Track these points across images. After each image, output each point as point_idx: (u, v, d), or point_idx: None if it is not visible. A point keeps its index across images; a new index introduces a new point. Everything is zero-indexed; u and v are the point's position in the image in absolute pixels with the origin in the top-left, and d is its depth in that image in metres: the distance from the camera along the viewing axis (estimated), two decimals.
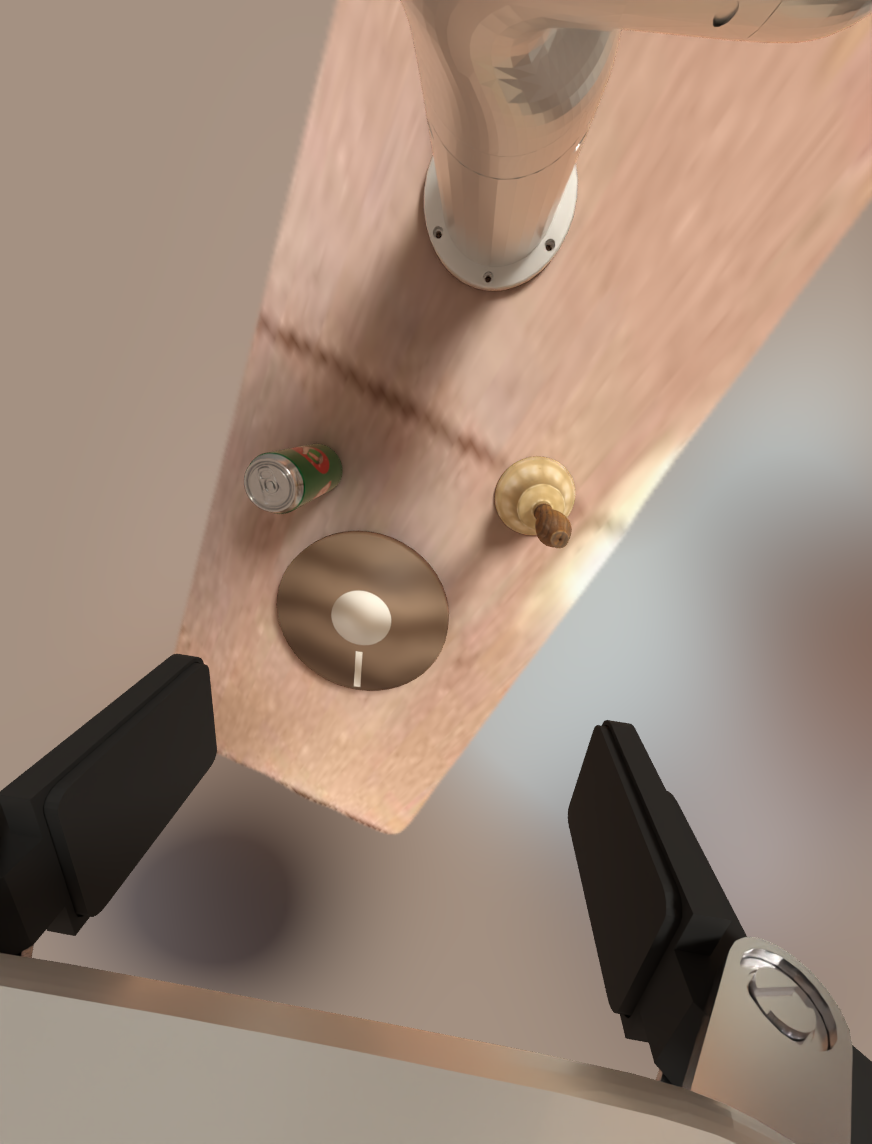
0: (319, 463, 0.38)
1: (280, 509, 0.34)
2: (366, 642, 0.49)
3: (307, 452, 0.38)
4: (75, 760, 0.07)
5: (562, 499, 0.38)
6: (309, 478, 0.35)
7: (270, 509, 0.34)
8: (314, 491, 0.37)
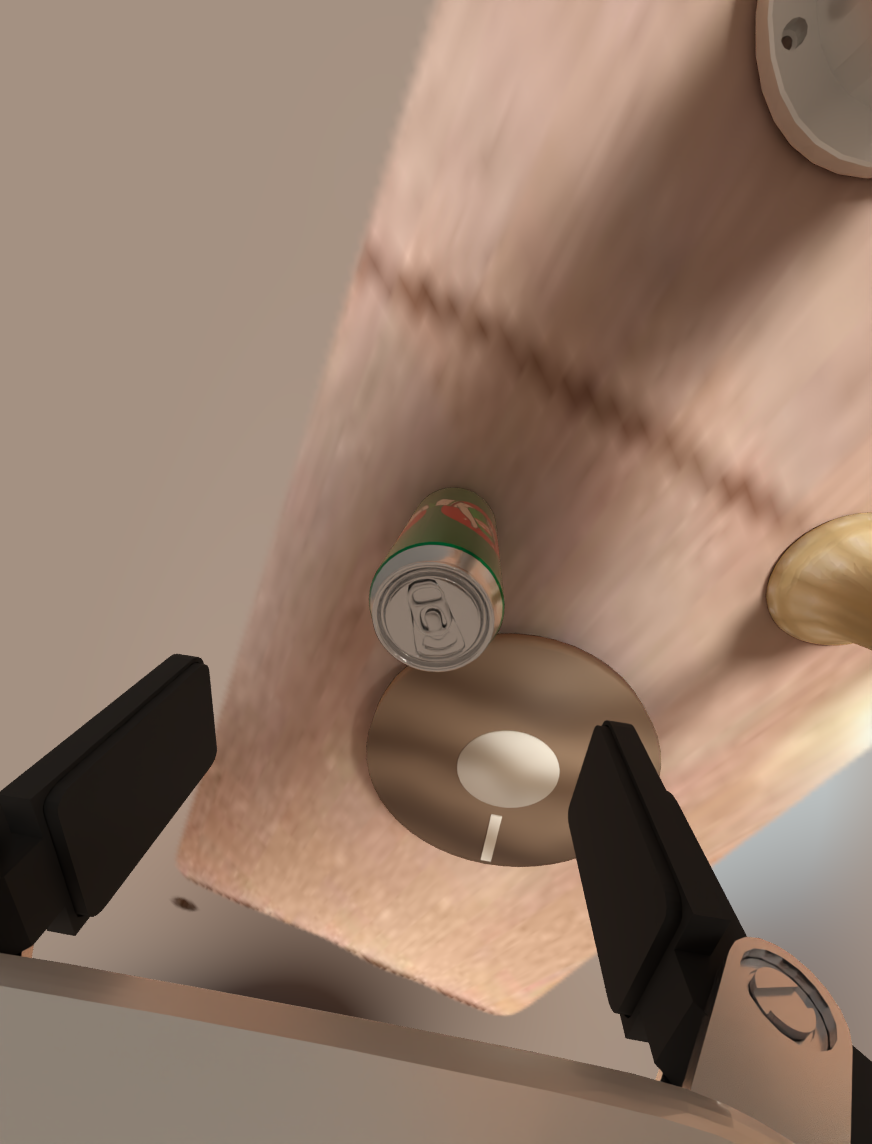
0: (495, 541, 0.19)
1: (450, 667, 0.15)
2: (510, 802, 0.30)
3: (474, 520, 0.19)
4: (75, 760, 0.07)
5: None
6: None
7: (427, 667, 0.15)
8: None
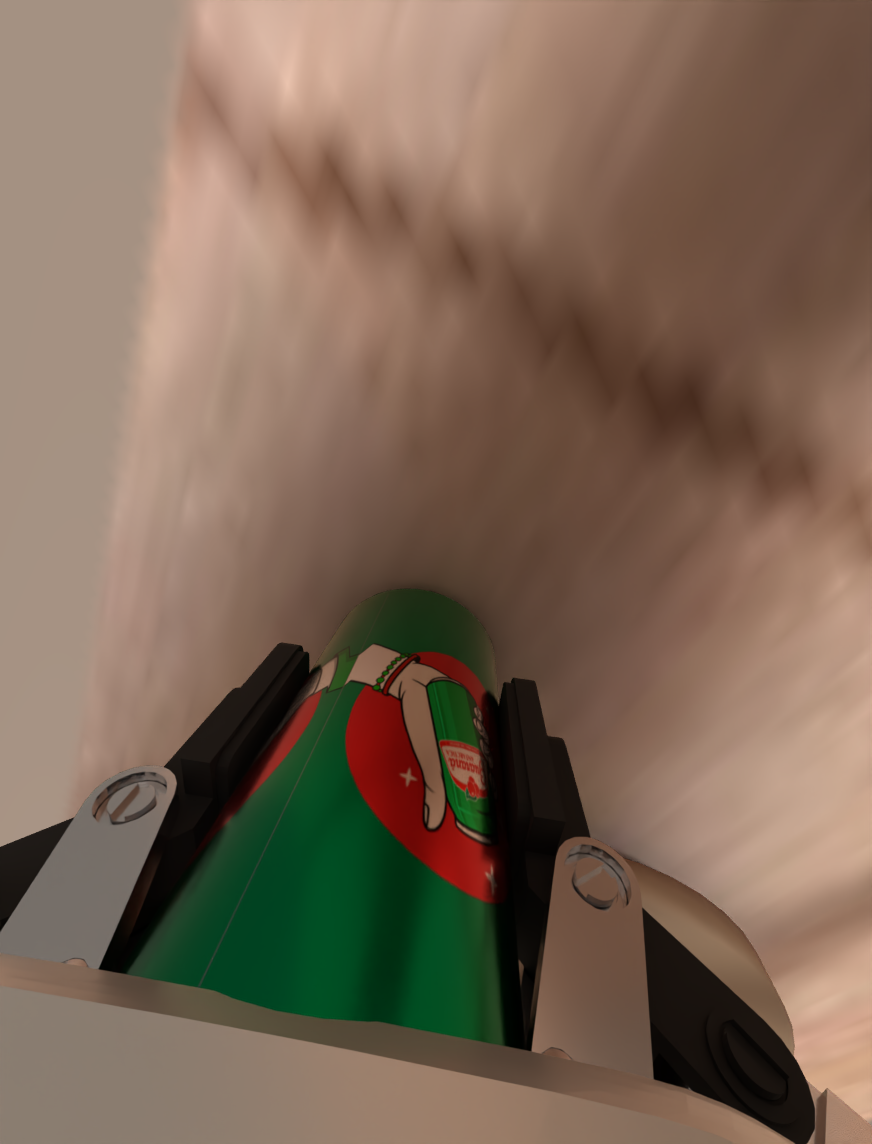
0: (496, 803, 0.07)
1: None
2: None
3: (438, 761, 0.07)
4: (233, 731, 0.08)
5: None
6: None
7: None
8: None
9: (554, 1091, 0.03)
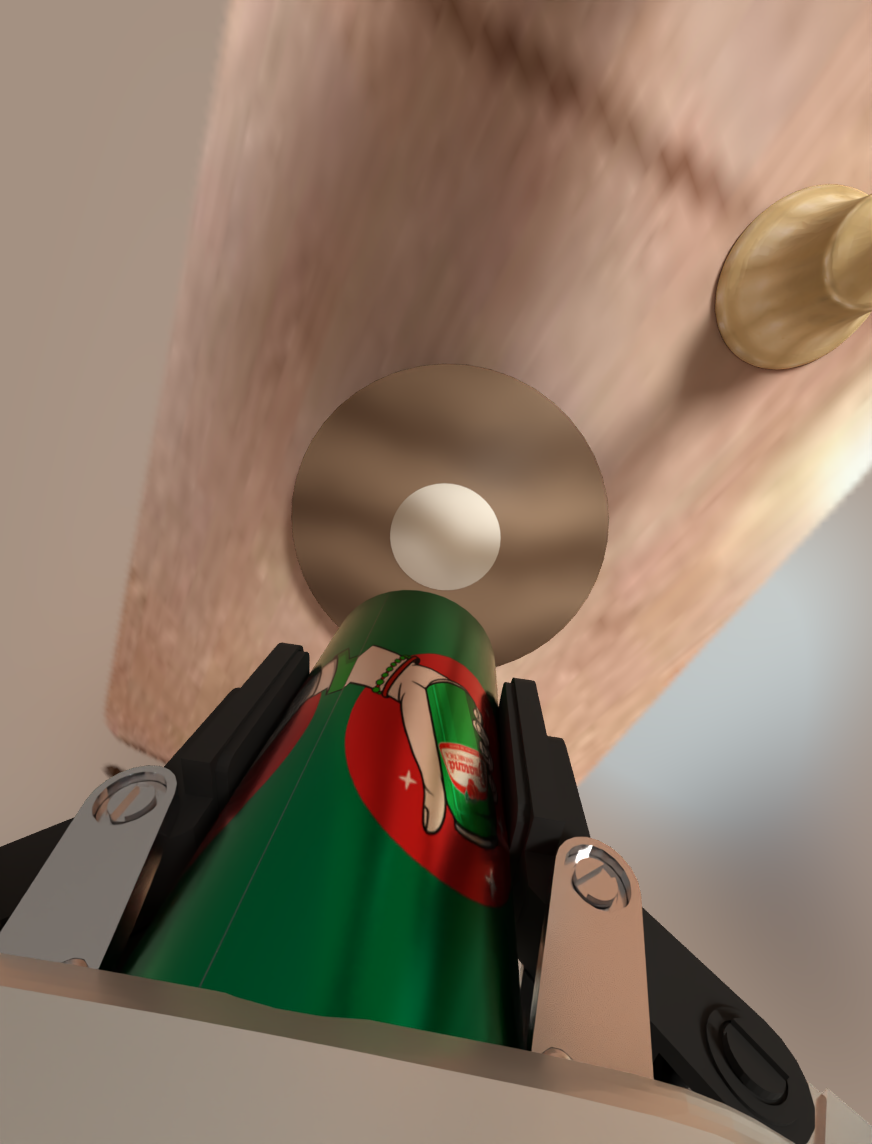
0: (496, 805, 0.07)
1: None
2: (450, 584, 0.27)
3: (438, 763, 0.07)
4: (233, 731, 0.08)
5: None
6: None
7: None
8: None
9: (554, 1091, 0.03)
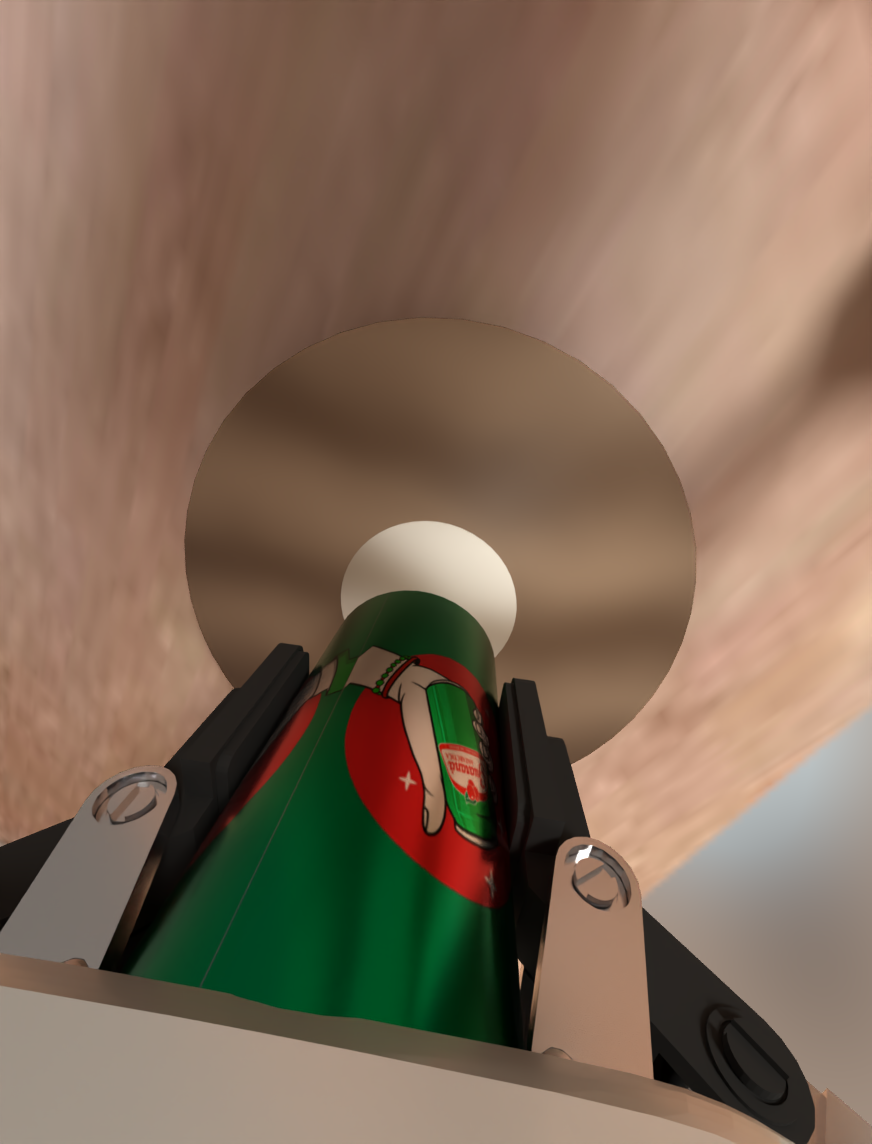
0: (496, 805, 0.07)
1: None
2: None
3: (438, 764, 0.07)
4: (233, 732, 0.07)
5: None
6: None
7: None
8: None
9: (554, 1091, 0.03)
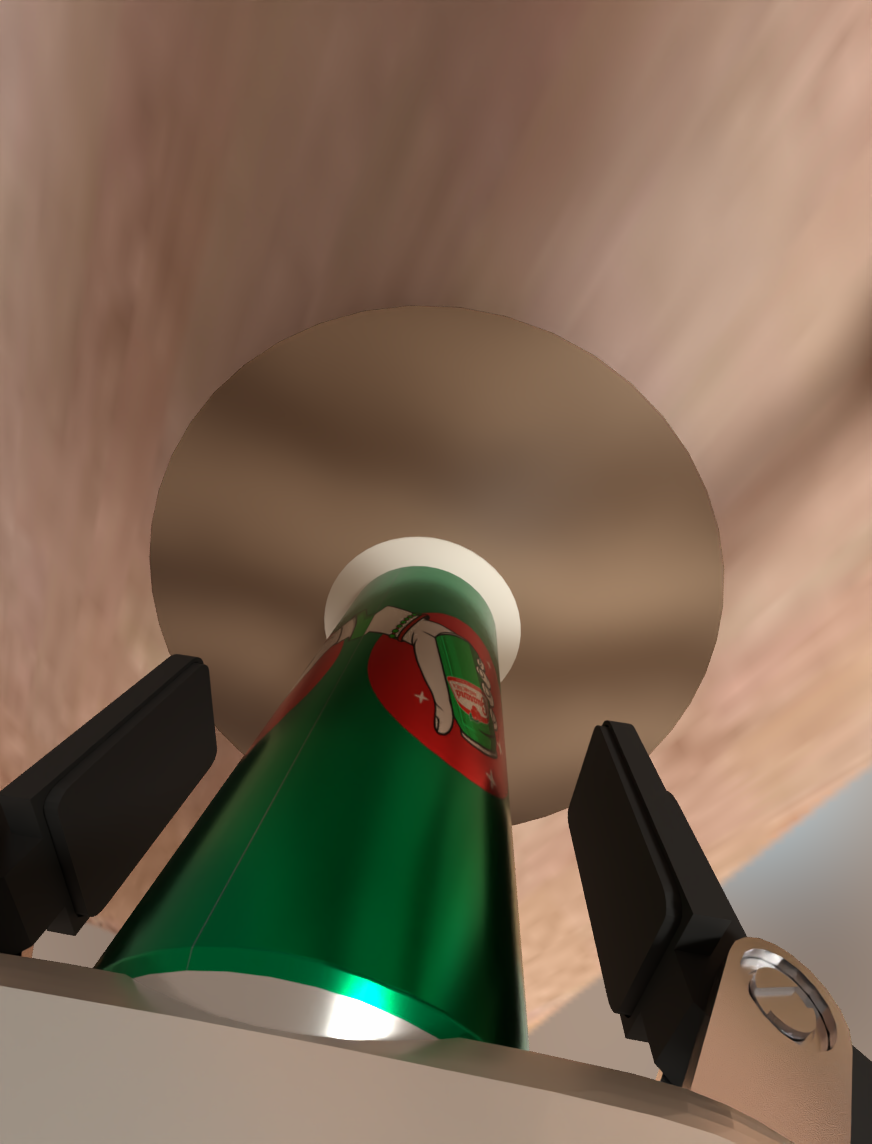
0: (496, 731, 0.08)
1: None
2: None
3: (446, 690, 0.08)
4: (76, 760, 0.07)
5: None
6: (523, 983, 0.05)
7: None
8: None
9: (554, 1092, 0.03)
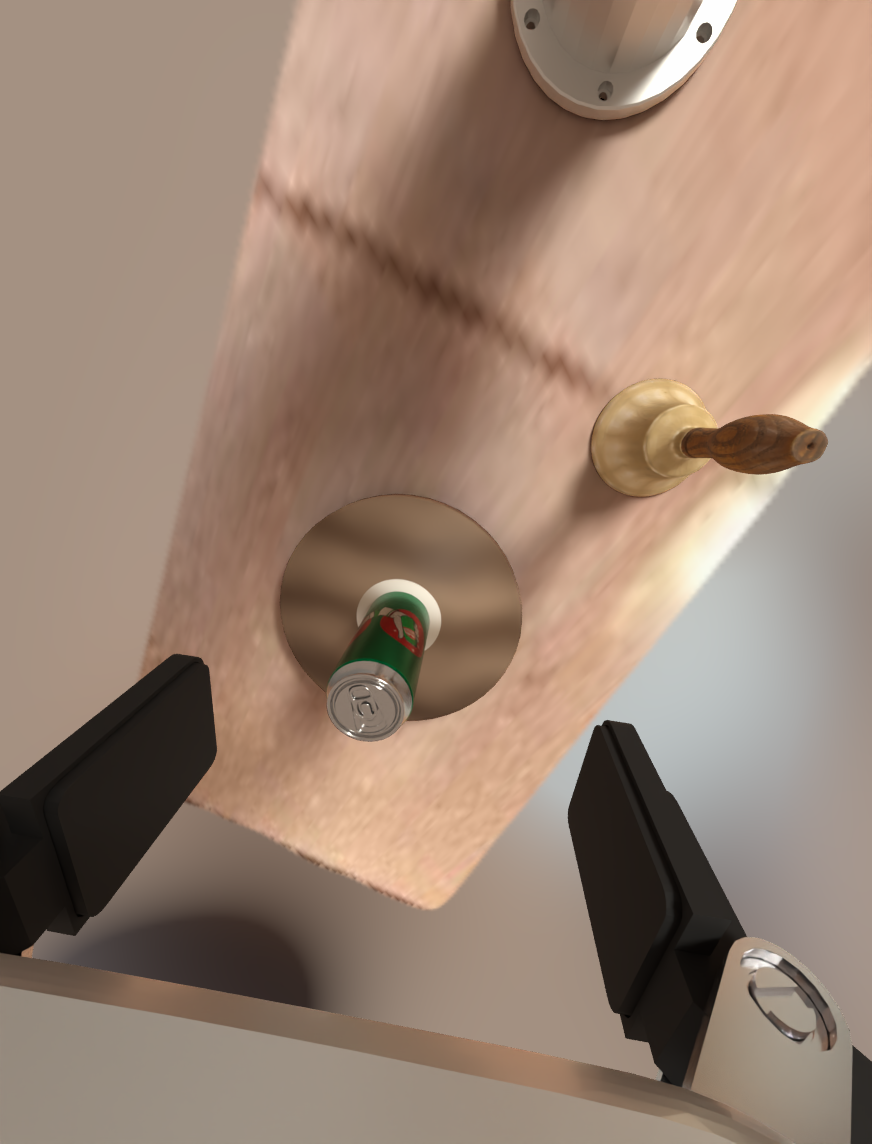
0: (417, 643, 0.28)
1: (378, 738, 0.23)
2: None
3: (402, 629, 0.27)
4: (75, 759, 0.07)
5: (716, 427, 0.25)
6: (415, 683, 0.24)
7: (363, 738, 0.23)
8: None
9: (554, 1091, 0.03)
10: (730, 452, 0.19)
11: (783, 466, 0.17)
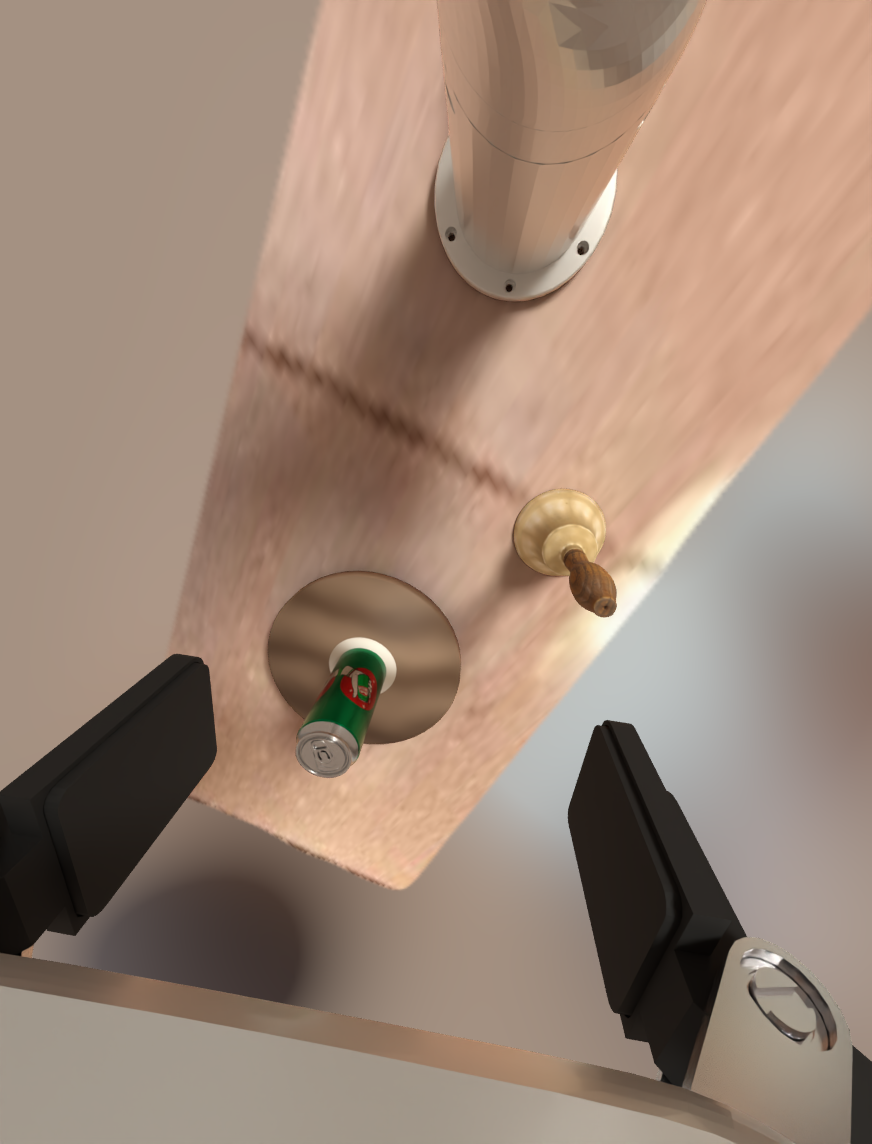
0: (369, 697, 0.36)
1: (333, 775, 0.32)
2: None
3: (357, 688, 0.35)
4: (75, 759, 0.07)
5: (595, 542, 0.33)
6: (362, 734, 0.33)
7: (323, 775, 0.32)
8: None
9: (554, 1092, 0.03)
10: (572, 592, 0.27)
11: None
